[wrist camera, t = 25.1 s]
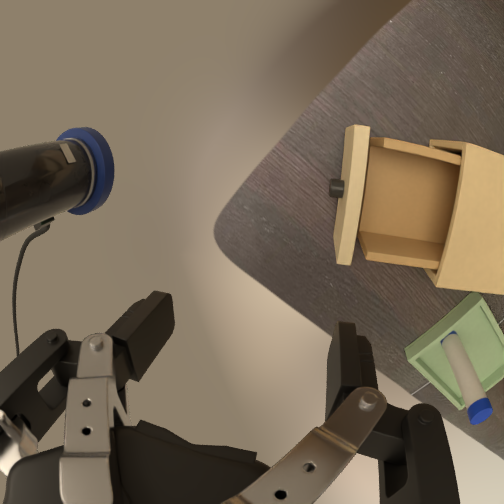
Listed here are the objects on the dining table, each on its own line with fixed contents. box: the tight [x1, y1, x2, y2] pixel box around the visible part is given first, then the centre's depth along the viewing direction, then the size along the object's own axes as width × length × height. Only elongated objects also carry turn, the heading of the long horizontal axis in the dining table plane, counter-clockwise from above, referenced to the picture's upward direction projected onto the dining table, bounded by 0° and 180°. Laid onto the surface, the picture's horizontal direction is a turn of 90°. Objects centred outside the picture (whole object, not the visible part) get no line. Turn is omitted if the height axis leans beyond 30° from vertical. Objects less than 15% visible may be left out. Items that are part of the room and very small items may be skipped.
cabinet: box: [423, 139, 504, 295], centre depth 21 cm, size 14×12×8 cm
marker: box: [440, 331, 493, 425], centre depth 25 cm, size 3×3×14 cm
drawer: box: [329, 124, 462, 270], centre depth 23 cm, size 15×11×7 cm
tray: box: [404, 291, 504, 410], centre depth 30 cm, size 20×13×2 cm, turn 51°
